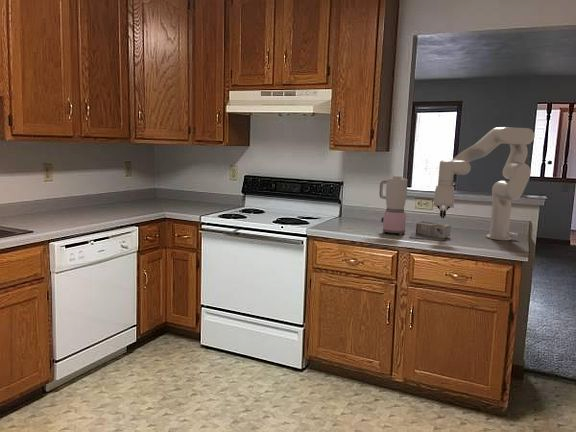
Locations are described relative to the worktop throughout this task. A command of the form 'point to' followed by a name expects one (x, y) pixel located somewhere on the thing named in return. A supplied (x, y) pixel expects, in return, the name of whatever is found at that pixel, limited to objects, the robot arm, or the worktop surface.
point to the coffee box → (433, 229)
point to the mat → (425, 237)
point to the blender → (394, 204)
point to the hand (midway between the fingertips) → (442, 217)
